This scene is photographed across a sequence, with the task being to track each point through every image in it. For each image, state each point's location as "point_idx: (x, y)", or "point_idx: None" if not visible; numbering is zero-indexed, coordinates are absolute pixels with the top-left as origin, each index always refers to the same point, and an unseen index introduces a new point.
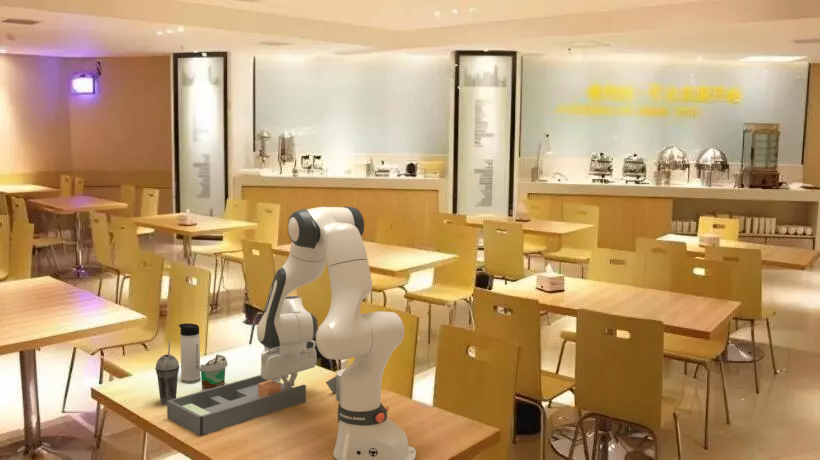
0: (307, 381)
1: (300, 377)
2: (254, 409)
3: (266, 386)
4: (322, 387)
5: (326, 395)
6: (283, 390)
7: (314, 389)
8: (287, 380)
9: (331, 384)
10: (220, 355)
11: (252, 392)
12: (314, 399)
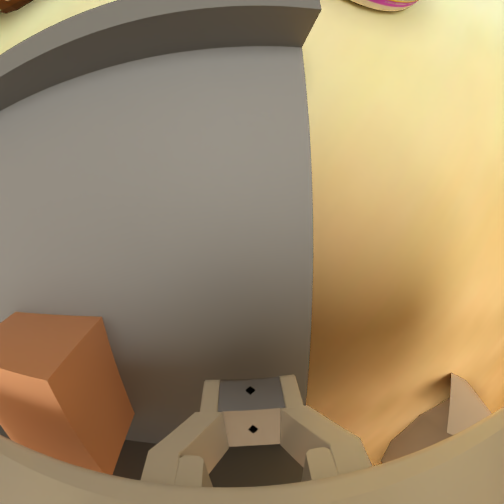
0: (492, 157)
1: (489, 85)
2: None
3: (9, 435)
4: (482, 288)
5: (416, 388)
6: (201, 357)
7: (450, 289)
8: (207, 469)
9: (461, 412)
10: None
11: (1, 231)
12: (345, 407)
